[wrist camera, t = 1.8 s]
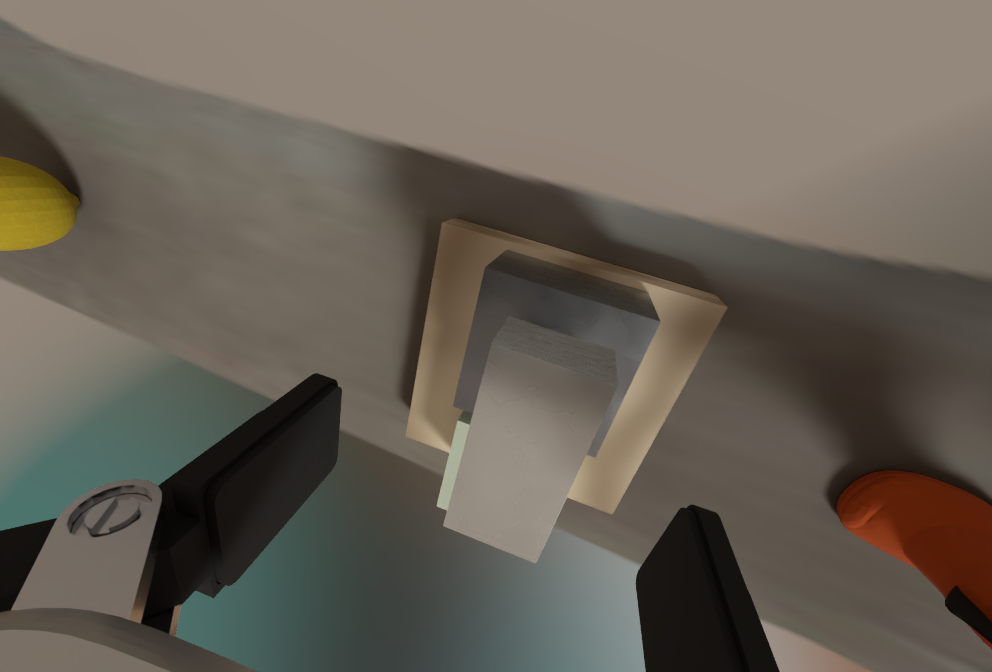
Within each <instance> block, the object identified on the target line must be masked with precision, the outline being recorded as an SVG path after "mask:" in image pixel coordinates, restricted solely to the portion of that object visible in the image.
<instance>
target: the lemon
mask: <svg viewBox="0 0 992 672" xmlns="http://www.w3.org/2000/svg"><path fill="white" fill-rule="evenodd" d="M79 204H80V202H79V199H78V198H77V196H75V195H73V194H72V193H70V192H69V191H68V190H67V189H66V188H65V187H64V186H63V185H62V184H61V183H60V182H59V181H58V180H57V179H55V178H54V177H53V176H51V175H50V174H48V173H47V172H45V171H43V170H41V169H39V168H37V167H35V166H32V165H30V164H27V163H25V162H22V161H18V160H15V159H10V158H6V157H0V250H22V249H29V248H35V247H39V246H43V245H46V244H49V243H51V242H54V241H56V240H58V239H60V238H62V237H63V236H65V235H66V234H67V233H68V232H69V231H70V230H71V228H72V227H73V226H74V224H75V221H76V217H77V209H76V208H77V207H78V205H79Z"/></svg>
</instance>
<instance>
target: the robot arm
mask: <svg viewBox="0 0 992 672" xmlns="http://www.w3.org/2000/svg"><path fill="white" fill-rule="evenodd" d="M341 396H342V389H341V387H338V383H337V381H336V380H335V379H332V378H329V377H326V376H323V375H320V374H318V373H316V374H313V375H311V376H310V377H308V378H307V379H306V380H304V381H303V382H301V383H300V384H299V385H297V386H296V387H295V388H293V389H292V390H291V391H289V392H288V393H286V394H285V395H284V396H282V397H281V398H280V399H278V400H277V401H276V402H274V403H273V404H272V405H270V406H269V407H267V408H266V409H265V410H263V411H261V412H259V413H257V414H256V415H255V416H253V417H252V418H250V419H249V420H248V421H246V422H245V423H244V424H242V425H241V426H239V427H238V428H237V429H235V430H234V431H233V432H231V433H230V434H229V435H227V436H226V437H225V438H223V439H222V440H220V441H219V442H218V443H216V444H215V445H213V446H212V447H211V448H209V449H208V450H207V451H205V452H204V453H202V454H201V455H200V456H198V457H197V458H196V459H194V460H193V461H192V462H190V463H189V464H187V465H186V466H185V467H183V468H182V469H181V470H179V471H178V472H177V473H175V474H174V475H172V476H171V477H170V478H168V479H167V480H165V481H164V482H163V483H161V484H160V485H159V486H158V485H156V484H154V483H152V482H150V481H147V480H141V479H130V480H121V481H117V482H112V483H108V484H105V485H103V486H100V487H98V488H96V489H93V490H91V491H89V492H87V493H86V494H84V495H82V496H81V497H79V498H77V499H76V500H74V501H73V502H72V503H71V504H70V505H69V506H68V507H66V508H65V509H64V510H63V511H62V513H61V514H60V516H59V517H58V518H56V519H51V520H46V521H42V522H38V523H33V524H29V525H24V526H20V527H15V528H11V529H7V530H3V531H0V672H257V671H255V670H253V669H250V668H248V667H246V666H244V665H241V664H239V663H237V662H235V661H232V660H230V659H227V658H225V657H223V656H220V655H218V654H216V653H213V652H211V651H208V650H206V649H203V648H201V647H199V646H196V645H194V644H191V643H189V642H186V641H184V640H181V639H179V638H177V637H176V631H177V626H178V620H179V615H180V609H181V604H183V603H184V602H185V601H186V599H188V598H189V596H190V595H191V594H192V593H193V592H194V591H195V590H196V591H199V592H201V593H203V594H205V595H208V596H211V597H212V598H214V597H215V596H216V594H218V593H219V592H220V590H221V589H222V588H223V587H224V586H225V585H227V586H230V585H232V584H233V583H235V582H236V581H237V580H238V579H239V578H240V577H241V575H242V574H243V573H244V572H245V571H246V570H247V568H248V567H249V566H250V565H251V564H252V563H253V561H254V560H255V559H256V558H257V557H258V556H259V554H260V553H261V552H262V551H263V550H264V549H265V548H266V546H267V545H268V544H269V543H270V542H271V541H272V539H273V538H274V537H275V536H276V535H277V534H278V532H279V531H280V530H281V529H282V528H283V527H284V525H285V524H286V523H287V522H288V521H289V519H290V518H291V517H292V516H293V515H294V514H295V513H296V511H297V510H298V509H299V508H300V507H301V506H302V504H303V503H304V502H305V501H306V500H307V499H308V497H309V496H310V495H311V494H312V493H313V492H314V491H315V489H316V488H317V487H318V486H319V485H320V483H321V482H322V481H323V480H324V479H325V478H326V476H327V475H328V474H329V473H330V472H331V471H332V469H333V468H334V466H335V464H336V461H337V456H338V441H339V426H340V411H341ZM636 590H637V599H638V608H639V616H640V625H641V634H642V641H643V650H644V660H645V668H646V672H779V669H778V667H777V664H776V661H775V658H774V656H773V653H772V651H771V648H770V645H769V643H768V640H767V638H766V635H765V632H764V630H763V627H762V625H761V622H760V619H759V617H758V614H757V611H756V609H755V606H754V604H753V601H752V598H751V596H750V594H749V592H748V590H747V587H746V585H745V582H744V579H743V577H742V574H741V571H740V569H739V566H738V564H737V561H736V558H735V556H734V553H733V550H732V548H731V545H730V543H729V540H728V537H727V535H726V532H725V529H724V527H723V524H722V522H721V519H720V517H719V515H718V514H717V513H716V512H713V511H710V510H707V509H704V508H701V507H698V506H695V505H689V506H688V507H687V508H680V509H679V511H678V512H677V514H676V515H675V517H674V518H673V520H672V521H671V523H670V524H669V526H668V527H667V529H666V530H665V532H664V533H663V535H662V536H661V538H660V539H659V541H658V542H657V543H656V545H655V546H654V548H653V549H652V551H651V552H650V554H649V555H648V557H647V558H646V560H645V561H644V563H643V564H642V566H641V567H640V569H639V571H638V574H637V577H636Z"/></svg>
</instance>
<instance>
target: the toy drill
mask: <svg viewBox="0 0 992 672" xmlns="http://www.w3.org/2000/svg"><path fill="white" fill-rule="evenodd" d="M837 512H838V516H839V519H840V521H841V523H842V524H843V525H844V526H845V527H846V528H847V529H848V530H849V531H850V532H852V533H853V534H854V535H856V536H858V537H860V538H861V539H863V540H865V541H867V542H868V543H870V544H872V545H874V546H875V547H877V548H879V549H881V550H883V551H885V552H887V553H888V554H890V555H892V556H894V557H896V558H898V559H900V560H902V561H904V562H905V563H907V564H909V565H911V566H913V567H915V568H917V569H919V570H920V571H921V572H922V574H923V575H924V576H925V577H926V578H927V579H928V580H929V581H930V582H931V583H932V584H933V585H934V586H935V587H936V588H937V589H938V590H939V591H940V592H941V593H942V594H943V596H944V597H945V606H946V607H947V608H948V610H949V611H950V612H951V613H953V614H954V615H955V616H957V617H959V618H960V619H962V620H963V621H964V622H966V623H967V624H968V625H969V626H970V627H971V629H972V630H973V631H974V632H975V633H976V634H977V635H978V636H979V637H980V638H981V639H982V640H983V642H984V643H986V644H987V645H988V646H989V647H990V648H991V649H992V506H991V505H989V504H988V503H986V502H985V501H983V500H982V499H980V498H978V497H976V496H974V495H972V494H970V493H968V492H966V491H964V490H962V489H960V488H958V487H955V486H953V485H950V484H948V483H945V482H942V481H940V480H937V479H934V478H931V477H928V476H924V475H921V474H917V473H912V472H906V471H896V470H885V471H878V472H873V473H870V474H868V475H865V476H863V477H861V478H859V479H857V480H856V481H854V482H853V483H852V484H851V485H849V486H848V487H847V488H846V489H845V490H844V491H843V493H842V494H841V495H840V497H839V499H838V501H837Z"/></svg>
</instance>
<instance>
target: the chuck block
mask: <svg viewBox="0 0 992 672" xmlns="http://www.w3.org/2000/svg"><path fill="white" fill-rule="evenodd" d="M508 316H510V317H513V318H517V319H520V320H523V321H526V322H529V323H532V324H535V325H538V326H541V327H544V328H547V329H550V330H553V331H557V332H560V333H563V334H566V335H569V336H572V337H575V338H578V339H581V340H584V341H587V342H590V343H594V344H597V345H600V346H603V347H606V348H609V349H612V350H615V356H616V367H617V377H618V387H617V390H616V392H615V394H614V396H613V398H612V400H611V403H610V405H609V407H608V409H607V411H606V413H605V416H604V418H603V420H602V422H601V424H600V426H599V428H598V431H597V433H596V435H595V437H594V439H593V441H592V444H591V446H590V448H589V450H588V452H587V454H586V455H589V456H591V457H594V458H596V456H597V454H598V452H599V450H600V447H601V445H602V443H603V441H604V439H605V437H606V435H607V433H608V431H609V429H610V427H611V424H612V422H613V420H614V418H615V416H616V414H617V412H618V410H619V408H620V406H621V404H622V402H623V399H624V397H625V395H626V393H627V391H628V389H629V387H630V385H631V383H632V381H633V379H634V376H635V374H636V372H637V370H638V368H639V366H640V364H641V362H642V360H643V358H644V356H645V354H646V351H647V349H648V347H649V345H650V343H651V341H652V339H653V337H654V335H655V333H656V331H657V329H658V326H659V324H660V322H661V321H660V319H659V317H658V314H657V312H656V310H655V307H654V305H653V303H652V300H651V298H650V296H649V293H648V292H646V291H643V290H640V289H636V288H633V287H630V286H626V285H623V284H620V283H617V282H613V281H610V280H607V279H603V278H600V277H597V276H593V275H590V274H587V273H583V272H580V271H577V270H573V269H570V268H567V267H564V266H560V265H557V264H554V263H550V262H547V261H544V260H540V259H537V258H534V257H530V256H527V255H524V254H520V253H517V252H514V251H510V250H505V251H504V252H503V253H502V254H501V255H499V256H498V257H497V258H496V259H494V260H493V261H492V262H491V263H490V264H488V265H487V266H486V267H485V269H484V274H483V278H482V282H481V287H480V291H479V295H478V299H477V304H476V308H475V312H474V317H473V321H472V325H471V330H470V334H469V338H468V343H467V347H466V351H465V356H464V360H463V364H462V368H461V373H460V377H459V381H458V386H457V390H456V394H455V399H454V403H453V407H456V408H459V409H462V410H464V411H467V412H470V413H473V411H474V407H475V404H476V400H477V396H478V392H479V388H480V385H481V381H482V377H483V373H484V370H485V366H486V362H487V358H488V354H489V351H490V347H491V343H492V341H493V340H494V338H495V337H496V335H497V334H498V332H499V330H500V329H501V327H502V326H503V324H504V323H505V321H506V319H507V318H508Z"/></svg>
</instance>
